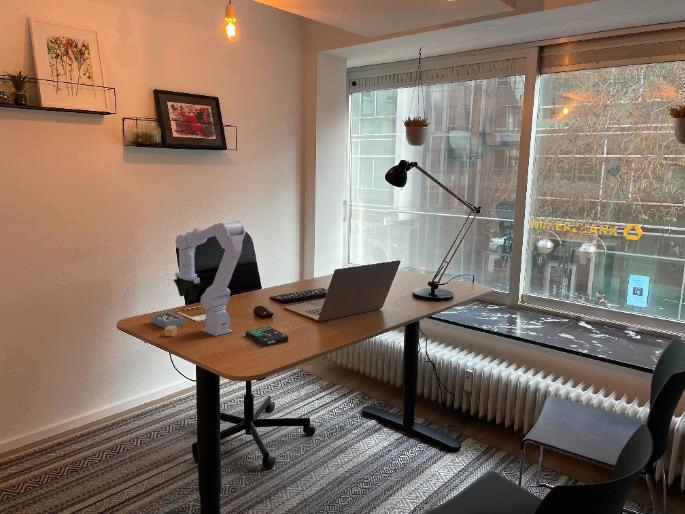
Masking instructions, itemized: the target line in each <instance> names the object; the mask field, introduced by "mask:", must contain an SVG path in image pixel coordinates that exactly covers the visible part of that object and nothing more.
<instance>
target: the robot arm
mask: <svg viewBox="0 0 685 514" xmlns="http://www.w3.org/2000/svg"><path fill="white" fill-rule="evenodd" d="M246 233H247V232H246V230H245V228H244V224H243V223H242V222H241V221H238V220H236V221H231V222H219V223H214V224H213V225H211V226H208V227H206V228H205V229H202V228H199V227H196V228H193V230H192V231H187V232H186V234H178V235H177V236H176V238H175V246H176V248H177V249H178V258H179V259H178V261H179V263H178V265H179V272H175V279H173V282H174V285H176V288H177V291H178V294H179V297H185V296H186V293H187V289H188V297H189V300H190V301H194V300H196V299H197V294H198V291H199V289H200V287H201V285H202V282H201V281H200V277H197V276H198V274H197V273H195V252H196V248H197V246H199V245H202V244H205V243H206V242H207V240H208V239H209V238H211V237H216V239H217V241H218V243H219V245H220V246H221V248H222V249H223V250H224V253H223V256H222V258H221V260H220V264H219V267H218V269H217V272H216V274H215V278H214V279H213V283H212V284H211V285H210V286H209V287H207V288H206V289H205V292H203V293H202V294H201V296H200V304H201V305H200V306H202V307H201V308H203V310H205V314H206V320H205V328H201V329H200V331H201V332H204V333H207V334H210V335H212V336H217V337H218V336H221V335H225V334H228V333H232V332H233V330H232V329H231V316H230V313H229V312H227V311H226V308H227V306H228V305H229V303H230V295H231V290H230V289H229V288H228V286H229V284H230V282H231V279H232V276H233V274H234V271H235V269H236V267H237V263H238V262H239V259H240V256H241V253H242V250H243V241H244V238H245V236H246Z"/></svg>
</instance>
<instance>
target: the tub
mask: <svg viewBox="0 0 685 514" xmlns="http://www.w3.org/2000/svg"><path fill="white" fill-rule="evenodd" d="M149 322H152V323H154V324H156V325H158V326H157V327H159V326H160V327H159V328H161V327H162V328H161V329H163V328H167V327H168V326H177V328H179V327H178V326H180V327H183V326H182V325H184V326H185V318H184V317H183V316H181V315H178V314H174V313H172V312H169V311H167V312H161V313H157V314H152V315H149ZM152 323H151V324H152ZM154 324H153V325H154ZM156 325H155V326H156Z"/></svg>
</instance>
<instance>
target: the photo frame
mask: <svg viewBox="0 0 685 514" xmlns="http://www.w3.org/2000/svg"><path fill="white" fill-rule="evenodd" d="M201 306H202V305H199V306H198V307H199V308H202V307H201ZM196 307H197V306H194V307H193V308H194V309H197V308H196ZM191 308H192V307H190V308H188V309H189V310H192V309H191ZM184 309H185V310H184V311H187V310H186V309H187V308H184ZM178 313H180V314H182V315H184V316H186V317H185V318H187V317H188V318H187V319H189V318H190V320H191V319H192V321H194V320H195V321H194V322H196V321H198V322H202V321H206V320H205V319H206V313H205V314H201V315H197V316H189V315H187V314H184V313H182V312H181V311H179V312H178ZM180 314H179V315H180ZM182 315H181V316H182ZM184 316H183V317H184ZM201 320H202V321H201Z"/></svg>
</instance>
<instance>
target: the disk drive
mask: <svg viewBox="0 0 685 514" xmlns="http://www.w3.org/2000/svg"><path fill="white" fill-rule="evenodd" d="M245 337H247V338H248V337H249V338H248V339H250V338H251V339H250V340H252V341H253V340H254V341H253V342H255V343H257V344H259V345H260V346H261V347H262V346H263V347H265V346H266V347H270V345H271V346H275V344H276V345H279V343H281V344H285V343H289V335H287V334H285V333H282V332H281V331H279V330H277V329H274V328H273V327H271V326H269V325H267V326H263V327H257V328H253V329H247V330H246V331H245ZM284 342H285V343H284ZM266 347H265V348H266Z"/></svg>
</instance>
